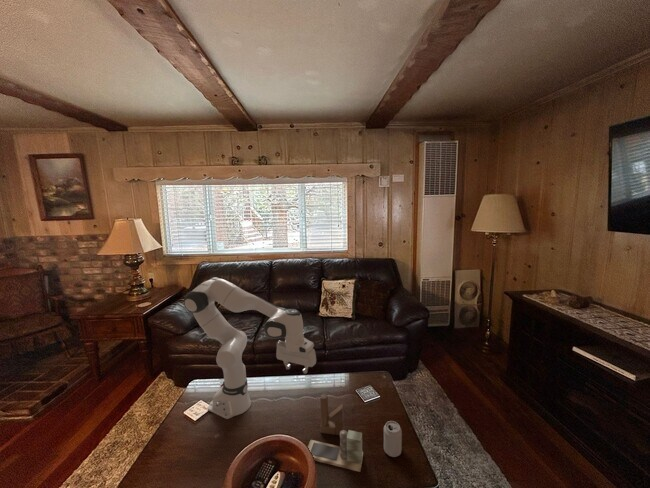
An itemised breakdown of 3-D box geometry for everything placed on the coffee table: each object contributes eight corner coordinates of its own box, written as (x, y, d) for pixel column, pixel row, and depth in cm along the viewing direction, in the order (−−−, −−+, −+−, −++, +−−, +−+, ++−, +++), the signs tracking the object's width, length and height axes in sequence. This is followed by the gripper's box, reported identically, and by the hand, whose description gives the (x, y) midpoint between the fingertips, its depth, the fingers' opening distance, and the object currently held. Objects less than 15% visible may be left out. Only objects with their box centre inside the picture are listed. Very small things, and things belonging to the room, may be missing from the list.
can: (381, 443, 119) (381, 419, 118) (397, 442, 120) (398, 418, 118) (386, 459, 112) (386, 434, 110) (404, 457, 113) (404, 432, 111)
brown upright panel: (342, 436, 124) (342, 401, 121) (320, 433, 126) (319, 398, 123) (343, 429, 128) (343, 395, 125) (321, 427, 129) (320, 393, 127)
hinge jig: (304, 457, 114) (303, 432, 112) (310, 441, 121) (309, 417, 120) (360, 472, 107) (360, 445, 105) (363, 454, 115) (363, 429, 113)
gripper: (272, 342, 127) (274, 369, 129) (310, 350, 119) (312, 379, 120) (280, 336, 133) (282, 362, 135) (316, 343, 124) (318, 371, 126)
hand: (296, 370), depth 127 cm, fingers open, 8 cm apart
